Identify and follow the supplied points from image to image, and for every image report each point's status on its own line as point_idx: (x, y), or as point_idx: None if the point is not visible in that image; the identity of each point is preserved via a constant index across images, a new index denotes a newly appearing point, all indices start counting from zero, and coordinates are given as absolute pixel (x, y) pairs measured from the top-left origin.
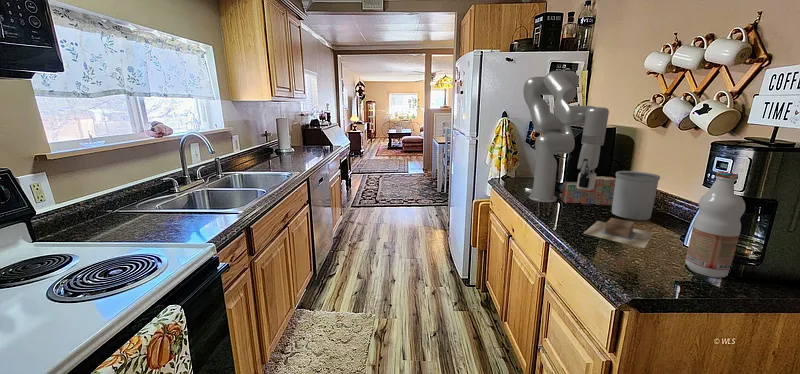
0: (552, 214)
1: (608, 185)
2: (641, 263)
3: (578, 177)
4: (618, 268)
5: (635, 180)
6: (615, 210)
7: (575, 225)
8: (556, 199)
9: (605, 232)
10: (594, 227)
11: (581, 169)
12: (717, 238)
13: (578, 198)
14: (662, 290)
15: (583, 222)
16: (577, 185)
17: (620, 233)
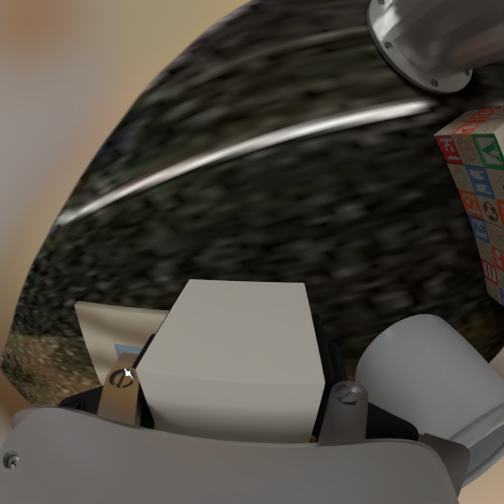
0: (214, 134)
1: None
2: (66, 395)
3: (157, 339)
4: (26, 366)
5: None
6: (384, 344)
7: (143, 260)
8: (439, 92)
9: (122, 354)
10: (144, 324)
11: (14, 427)
12: None
13: (470, 185)
14: (31, 399)
15: (200, 273)
16: (183, 295)
17: None
